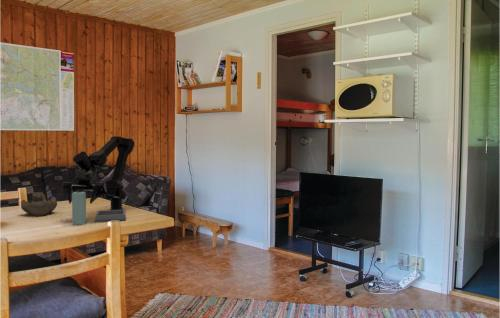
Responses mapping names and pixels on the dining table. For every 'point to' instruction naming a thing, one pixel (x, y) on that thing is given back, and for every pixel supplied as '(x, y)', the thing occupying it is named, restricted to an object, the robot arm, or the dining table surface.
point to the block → (79, 208)
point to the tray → (109, 215)
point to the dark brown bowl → (39, 205)
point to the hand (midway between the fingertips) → (80, 203)
